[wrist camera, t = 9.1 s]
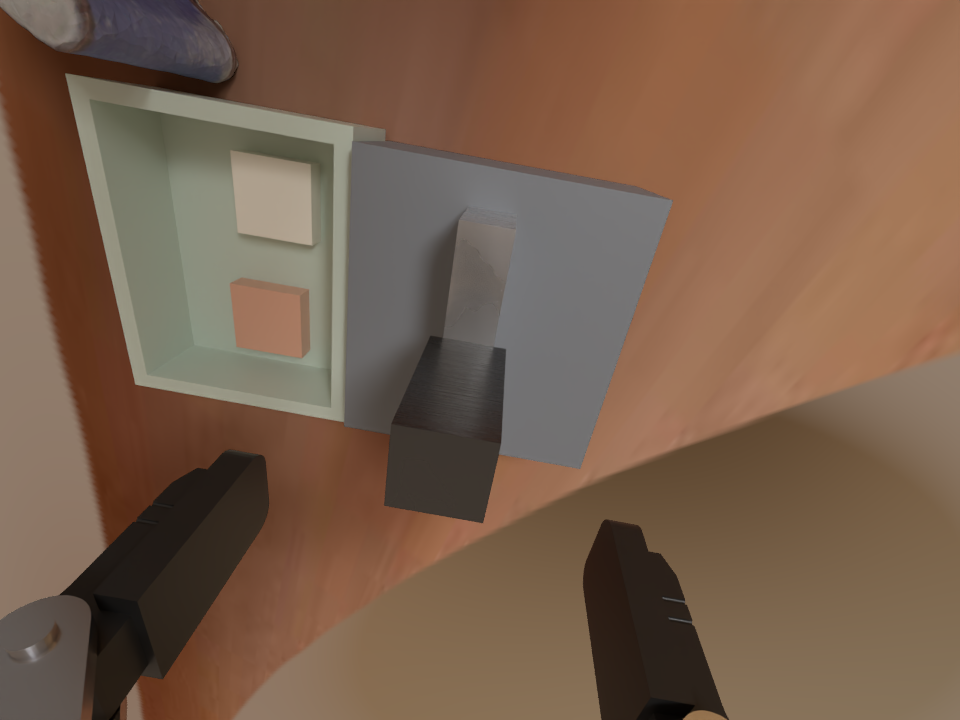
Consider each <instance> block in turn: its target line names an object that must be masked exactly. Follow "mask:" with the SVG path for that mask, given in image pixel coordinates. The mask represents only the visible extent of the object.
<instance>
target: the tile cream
mask: <svg viewBox="0 0 960 720" xmlns="http://www.w3.org/2000/svg"><path fill="white" fill-rule="evenodd" d="M230 154H231V165H232V176H233V186H234V197H235V208H236V218H237V229H238V233H243V234H249V235H254V236H260V237H266V238H271V239H277V240H283V241H289V242H294V243H300V244H306V245H311V246H312V245H314V244H316V243H318V242H320V241H321V169H320V163H316V162H311V161H305V160H299V159H294V158H288V157H282V156H277V155H271V154H265V153H260V152H254V151H248V150H230Z"/></svg>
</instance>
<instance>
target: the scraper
mask: <svg viewBox="0 0 960 720" xmlns="http://www.w3.org/2000/svg"><path fill="white" fill-rule="evenodd" d="M515 234H516V215H515V214H509V213H504V212H498V211H493V210H487V209H482V208H476V207H471V206H469V207H468V208H467V209H466V211H465V212H464V214H463V215H462V216H461V218H460V219H459V223H458V230H457V238H456V245H455V253H454V260H453V268H452V275H451V282H450V290H449V297H448V305H447V312H446V319H445V327H444V334H443V338H442V337H436V336H431V335H430V337H429V340H428V342H427V344H426V347H425V349H424V351H423V353H422V356H421V358H420V360H419V362H418V365H417V367H416V369H415V371H414V374H413V376H412V378H411V380H410V383H409V385H408V387H407V389H406V392H405V394H404V396H403V398H402V401H401V403H400V405H399V407H398V410H397V412H396V414H395V416H394V419H393V421H392V423H391V430H390V442H389V454H388V466H387V478H386V490H385V502H384V506H389V507H395V508H400V509H406V510H412V511H417V512H423V513H429V514H434V515H440V516H446V517H451V518H457V519H462V520H468V521H474V522H479V523H483V521H484V517H485V512H486V508H487V504H488V499H489V495H490V491H491V486H492V482H493V478H494V473H495V469H496V464H497V460H498V456H499V451H500V447H501V439H502V419H503V400H504V381H505V361H506V349H503V348H498V347H494V342H495V337H496V331H497V326H498V321H499V316H500V311H501V306H502V301H503V296H504V290H505V285H506V280H507V275H508V270H509V265H510V260H511V254H512V249H513V244H514V239H515Z"/></svg>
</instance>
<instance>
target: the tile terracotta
mask: <svg viewBox="0 0 960 720" xmlns="http://www.w3.org/2000/svg"><path fill="white" fill-rule="evenodd" d="M230 291H231V300H232V309H233V319H234V328H235V337H236V347H240V348H246V349H252V350H257V351H263V352H269V353H274V354H280V355H286V356H292V357H297V358H303V357H304V356H305V355H306V354H307V353H308V352H309V351H310V311H309V289H305V288H299V287H294V286H288V285H282V284H277V283H271V282H265V281H260V280H254V279H248V278H242V277H241V278H239V279H237V280H235V281H233V282H231V283H230Z"/></svg>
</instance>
